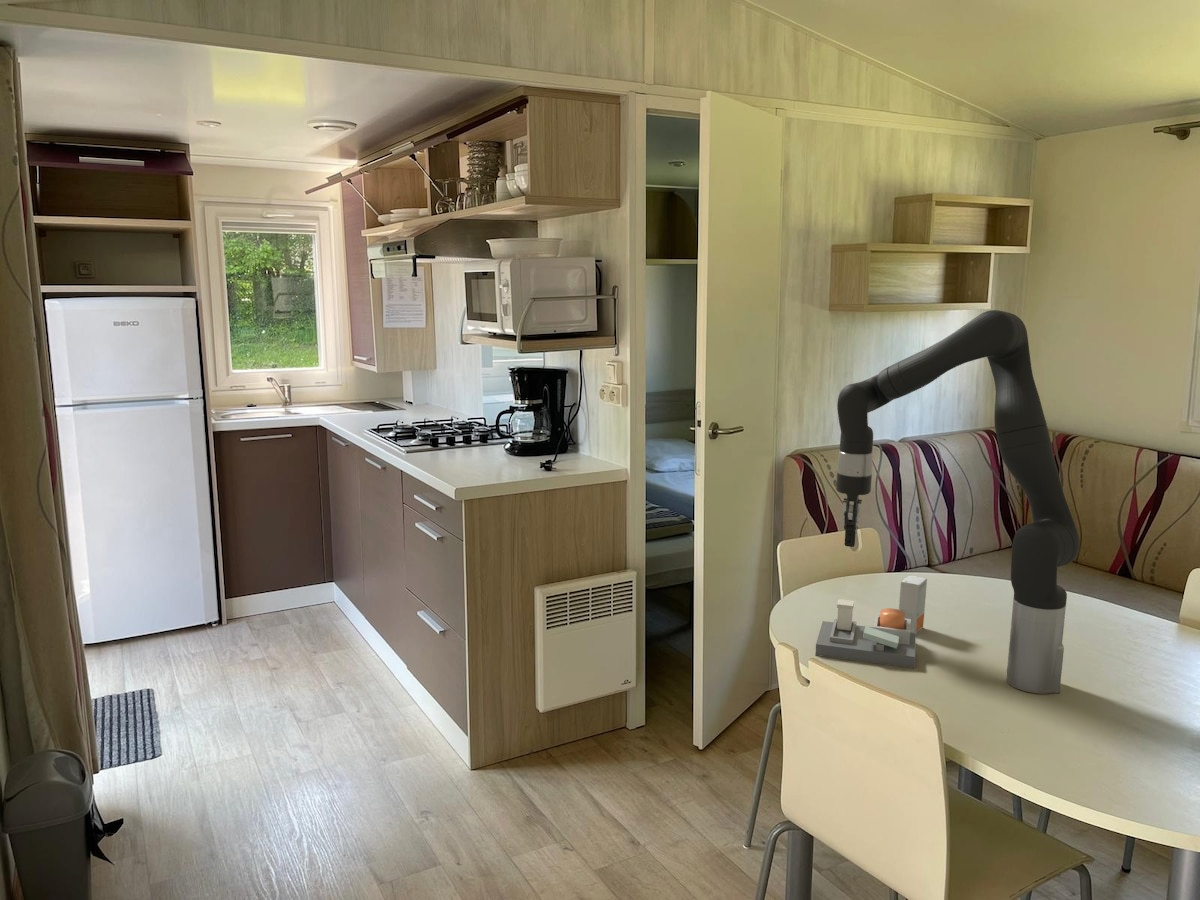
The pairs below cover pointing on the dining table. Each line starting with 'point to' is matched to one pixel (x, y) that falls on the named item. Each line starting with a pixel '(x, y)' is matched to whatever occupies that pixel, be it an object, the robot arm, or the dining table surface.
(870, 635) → the block
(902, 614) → the orange piece
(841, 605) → the lever
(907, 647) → the panel
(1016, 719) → the dining table surface
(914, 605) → the skincare box
